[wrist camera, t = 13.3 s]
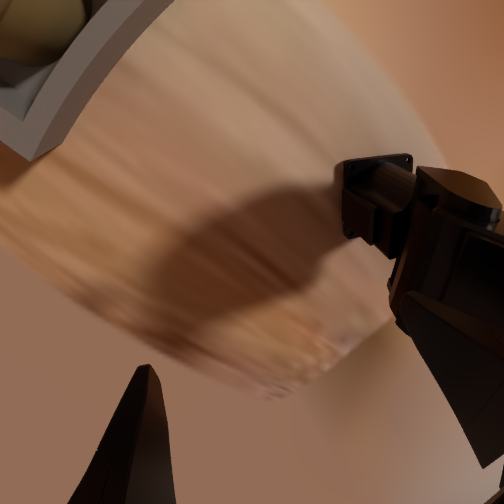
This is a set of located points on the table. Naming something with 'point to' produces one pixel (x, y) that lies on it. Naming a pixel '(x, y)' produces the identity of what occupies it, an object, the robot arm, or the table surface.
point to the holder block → (68, 77)
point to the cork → (40, 29)
